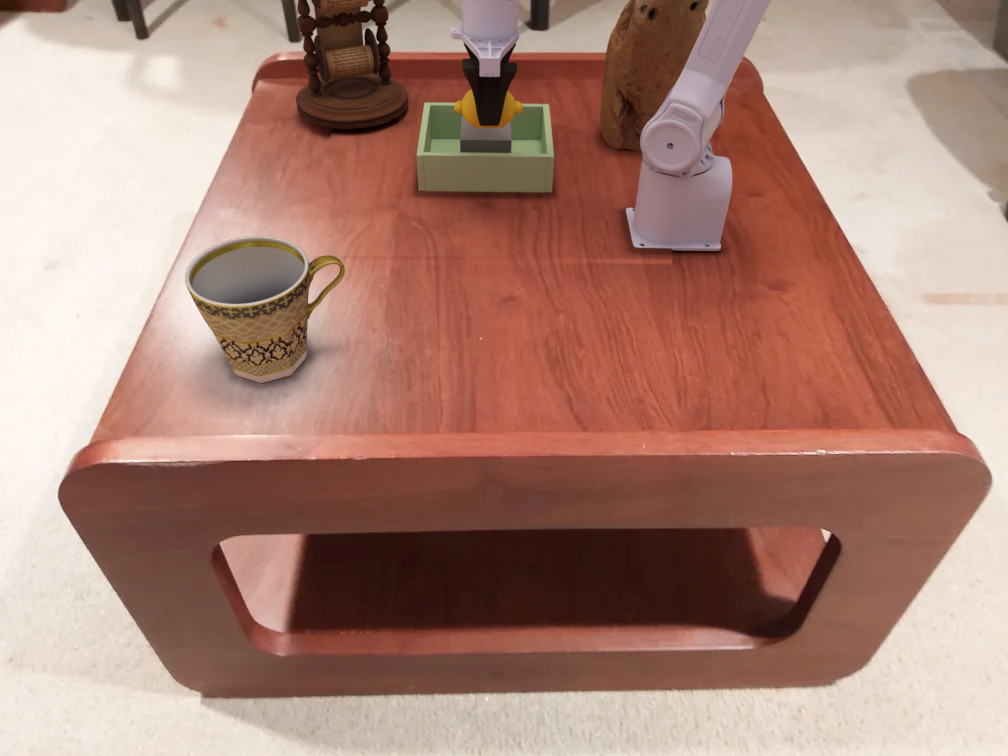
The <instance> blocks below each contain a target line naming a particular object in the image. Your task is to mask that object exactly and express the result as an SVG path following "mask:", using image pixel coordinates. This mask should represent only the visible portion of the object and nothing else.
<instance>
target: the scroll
mask: <svg viewBox="0 0 1008 756" xmlns="http://www.w3.org/2000/svg"><path fill="white" fill-rule="evenodd" d="M310 2H311V4H312V5H313V10H314V17H313V16H311V15H310V13H311V7H310V4H309V2H308V0H297V8H296V9H297V13H298V14H299V16H298V17H297V19H296V24H297V28H298V31H299V33H300V35H301V36H302V37H303V44H302V49H303V52H304V53H306V54H305V55H303V64H304V66H305V67H306V68H307V70H306V73H307V74H308V75H309V76H308V81H307V83H306V84H305V85H304V86H303V87H301V88H300V90H299V91H298V92H297V94H296V97H295V102H296V109H297V112H298V114H299V115H300V117H302V118H303V119H304V120H306V121H307V122H310V123H312V124H314V125H318V126H321V127H323V129H324V132H325V133H326V135H327V136H331V135H332V134H333V130H334V129H338V130H339V129H340V130H341V129H342V130H354V129H355V130H356V129H365V128H370V127H371V128H372V127H375V126H380V125H383V124H385V123H389V122H390V121H393V120H395V121H401V120H402V119H403V113H404V112H405V111H406V110H407V108H408V107H409V93H408V90H407V88H406V86H404V85H403V83H402V82H400V81H398V80H396V79H394V78H392V70H391V68H390V65H389V62H391V61H390V58H389V56H390V54H391V51H392V50H391V47H390V45H389V44H388V43H387V41H388V39H389V36H388V32H387V30H386V26H387V25H388V23H387V22H388V21H389V11H388V8H387V6H386V5H384V4H385V3H386V0H310ZM370 2H372V3H373V4H374V6H373V7H371V9H370V11H368V10H366V9H364V10H362V9H361V8H366V7H368V5H369V3H370ZM370 21H372V22H374V25H375V26H376V27H377V28H376V33H374V31H372V29H371V28H369V27H366V28H365V30H364V34H363V24H367V23H369V22H370ZM315 30H316V35H315V36H314V38H312V37H313V35H314V31H315ZM318 73H319V75H320V77H319V76H318Z"/></svg>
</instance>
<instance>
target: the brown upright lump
mask: <svg viewBox="0 0 1008 756" xmlns="http://www.w3.org/2000/svg"><path fill="white" fill-rule="evenodd" d="M709 3H710V0H629V1H628V2H627V3H626V4H625V5H624V7H623V8H622V10H621V12H620V16H619V17H618V19H617V21H616V23H615V26H614V27H613V29H612V30H611V33H610V35H609V38H608V42H607V46H606V50H605V51H606V52H605V59H604V66H603V76H602V84H601V94H600V95H601V96H600V112H599V120H600V122H599V123H600V129H601V136H602V140H603V141H604V143H605V144H606V145H608V146H609V148H611V149H614V150H630V151H636V152H637V151H639V152H640V151H641V146H640V137H641V133H642V131H643V128H644V127H645V125H646V124H647V122H648V121H649V120H651V119H652V118H653V117H654V115H655V114H656V112H657V111H658V110H659V108H660V107H661V105H662V104H663V102H664V101H665V98H666V96H667V94H668V93H669V91H670V90H671V89H672V88H673V87H674V86H675V84H676V82H677V80H678V78H679V77H680V75H681V73H682V71H683V69H684V67H685V65H686V63H687V60H688V58H689V56H690V54H691V52H692V49H693V47H694V45H695V43H696V41H697V38H698V36H699V34H700V32H701V30H702V27H703V25H704V23H705V21H706V19H707V15H706V10H707V8H708V6H709ZM641 152H642V151H641Z"/></svg>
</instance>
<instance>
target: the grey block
mask: <svg viewBox="0 0 1008 756" xmlns="http://www.w3.org/2000/svg"><path fill="white" fill-rule="evenodd" d="M511 145H512V137H511V122H510V123H509V124H507V125H506V126H504V127H501V128H477V127H474V126H472V125H470V124H469V123H468V122H467V121H466V120H465V118H464V117H462V120H461V134H460V152H463V153H511Z"/></svg>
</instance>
